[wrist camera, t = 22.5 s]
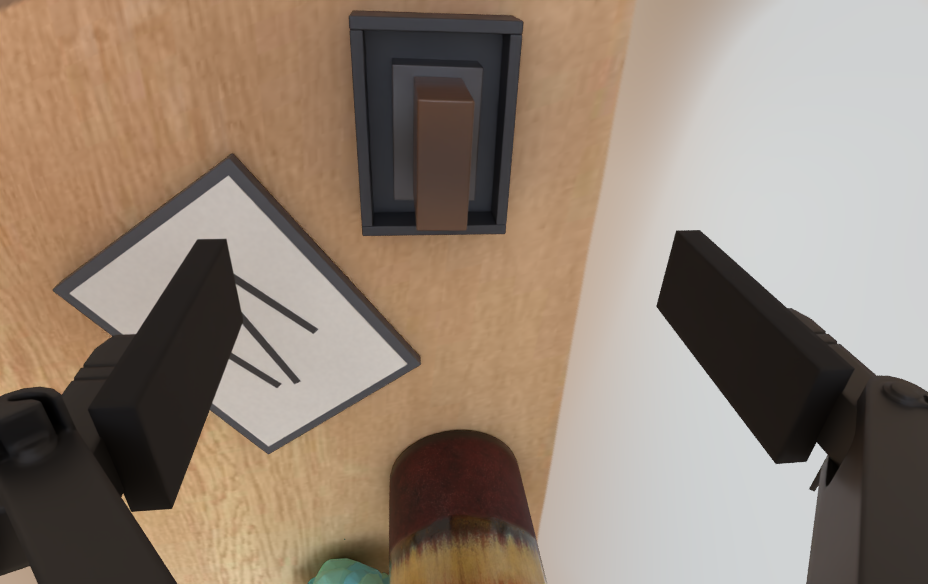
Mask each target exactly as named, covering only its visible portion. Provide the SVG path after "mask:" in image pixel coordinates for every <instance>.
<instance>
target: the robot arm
mask: <svg viewBox="0 0 928 584" xmlns="http://www.w3.org/2000/svg"><path fill="white" fill-rule="evenodd" d="M657 308H658V309H659V311H660V312H661V313H662V314H663V316H664V317H665V319H666V320H667V321H668V322H669V324H670V325H671V326H672V328H673V329H674V330H675V331H676V333H677V334H678V336H679V337H680V338H681V340H682V341H683V342H684V344H685V345H686V346H687V348H688V349H689V350H690V352H691V353H692V354H693V355H694V357H695V358H696V359H697V361H698V362H699V363H700V365H701V366H702V367H703V369H704V370H705V371H706V373H707V374H708V375H709V377H710V378H711V379H712V380H713V382H714V383H715V384H716V386H717V387H718V388H719V390H720V391H721V392H722V394H723V395H724V396H725V398H726V399H727V400H728V402H729V403H730V404H731V406H732V407H733V408H734V409H735V411H736V412H737V413H738V415H739V416H740V417H741V419H742V420H743V421H744V423H745V424H746V425H747V427H748V428H749V429H750V431H751V432H752V433H753V434H754V436H755V437H756V438H757V440H758V441H759V442H760V444H761V445H762V446H763V448H764V449H765V450H766V452H767V453H768V454H769V456H770V457H771V458H772V460H773V461H774V462H775V463H776V464H782V463H795V462H806V461H807V460H808V458H809V456H810V454H811V452H812V450H813V448H814V446H815V444H816V442H817V443H818V444H819V445H820V446H821V447H822V449H823V450H824V451H825V452H826V453H827V454H828V455H827V457H826V459H825V461H824V463H823V465H822V466H821V468H820V470H819V472H818V474H817V476H816V478H815V479H814V481H813V483H812V485H811V487H810V490H813V491H815V490H816V488H817V487H818V486H819V489H818V497H817V505H816V513H815V521H814V528H813V537H812V545H811V551H810V559H809V567H808V575H807V583H806V584H928V392H927V391H925V390H924V389H922V388H921V387H919V386H917V385H915V384H913V383H910V382H908V381H906V380H903V379H900V378H896V377H891V376H876V375H875V374H874V373H873V372H872V371H871V370H869V369H868V368H867V367H866V366H865V365H864V364H863V363H861V362H860V361H859V360H858V359H857V358H856V357H854V356H853V355H852V354H851V353H850V352H849V351H848V350H846V349H845V348H844V347H843V346H842V345H841V344H837V341H836V340H835V339H834V338H833V337H831V336H830V335H829V334H826V333H825V330H823V329H822V328H821V327H820V326H819V325H817V324H816V323H815V322H814V321H813V320H812V319H810V318H808V317H807V316H805V315H803V314H801V313H799V312H797V311H796V310H793V309H792V308H786V307H785V306H784V305H783V304H782V303H781V302H780V301H778V300H777V299H776V298H775V297H774V296H773V295H772V294H771V293H769V292H768V291H767V290H766V289H765V288H764V287H763V286H762V285H761V284H759V283H758V282H757V281H756V280H755V279H754V278H753V277H752V276H750V275H749V274H748V273H747V272H746V271H745V270H744V269H743V268H741V267H740V266H739V265H738V264H737V263H736V262H735V261H734V260H733V259H731V258H730V257H729V256H728V255H727V254H726V253H725V252H724V251H722V250H721V249H720V248H719V247H718V246H717V245H716V244H714V242H712V241H711V240H710V239H709V238H708V237H707V236H706V235H704V234H703V233H702V232H701V231H700V230H691V231H689V230H688V231H676V234H675V237H674V241H673V245H672V249H671V253H670V256H669V260H668V264H667V268H666V272H665V275H664V279H663V283H662V287H661V291H660V295H659V298H658V302H657ZM242 324H243V317H242V312H241V307H240V302H239V297H238V292H237V287H236V283H235V278H234V273H233V268H232V263H231V258H230V253H229V249H228V244H227V239H197V240H196V242H195V244H194V245H193V247H192V248H191V250H190V251H189V253H188V254H187V256H186V257H185V259H184V261H183V262H182V264H181V265H180V267H179V268H178V270H177V271H176V273H175V274H174V276H173V278H172V279H171V281H170V282H169V284H168V285H167V287H166V288H165V290H164V291H163V293H162V295H161V296H160V298H159V299H158V301H157V302H156V304H155V305H154V307H153V308H152V310H151V312H150V313H149V315H148V316H147V318H146V319H145V321H144V322H143V324H142V325H141V327H140V329H139V330H138V332H137V333H136V334H123V335H114V336H112V337H111V338H109V339H108V340H107V341H105V342H104V343H103V344H101V345H100V346H98V347H97V348H96V349H95V350H94V351H93V352H92V354H91V355H90V356H89V358H88V359H87V361H86V362H85V363H84V367H83V368H81V369H80V370H79V372H78V373H77V374H76V376H75V377H74V381H71V383H70V384H69V385H68V387H67V388H66V390H65V391H64V392H63V394H62V395H61V394H60V393H58V392H57V391H55V390H54V389H52V388H45V387H33V388H24V389H20V390H17V391H14V392H10V393H7V394H4V395H2V396H0V576H1V575H4V574H7V573H10V572H13V571H16V570H19V569H22V568H25V567H28V566H30V567H31V569H32V571H33V573H34V576H35V578H36V580H37V582H38V584H177V582H176V581H175V579H174V578H173V576H172V575H171V573H170V572H169V570H168V569H167V567H166V565H165V564H164V562H163V561H162V559H161V558H160V556H159V555H158V553H157V552H156V550H155V549H154V547H153V545H152V544H151V542H150V541H149V539H148V538H147V536H146V535H145V533H144V532H143V530H142V529H141V527H140V526H139V524H138V522H137V521H136V519H135V518H134V516H133V515H132V513H131V512H135V511H149V510H162V509H172V507H173V505H174V502H175V500H176V497H177V494H178V492H179V489H180V486H181V484H182V481H183V479H184V476H185V473H186V471H187V468H188V465H189V463H190V460H191V458H192V455H193V452H194V450H195V447H196V444H197V442H198V439H199V437H200V434H201V431H202V429H203V426H204V423H205V421H206V418H207V416H208V413H209V410H210V408H211V405H212V402H213V400H214V397H215V395H216V392H217V389H218V387H219V384H220V381H221V379H222V376H223V373H224V371H225V368H226V366H227V363H228V360H229V358H230V355H231V352H232V350H233V347H234V345H235V342H236V339H237V337H238V334H239V331H240V329H241V326H242ZM123 493H124V496H125V498H126V500H127V503H128V505H129V507H130V510H131V512H130V510H129V509H128V507H127V506H126V504H125V503H124V501H123V499H122V498H121V497H122V494H123Z"/></svg>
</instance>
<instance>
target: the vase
mask: <svg viewBox="0 0 928 584" xmlns="http://www.w3.org/2000/svg"><path fill="white" fill-rule="evenodd" d="M389 584H547V581H546V577H545V573H544V569H543V565H542V561H541V557H540V553H539V549H538V544H537V540H536V536H535V532H534V528H533V524H532V520H531V516H530V512H529V508H528V504H527V499H526V495H525V491H524V487H523V483H522V479H521V475H520V471H519V467H518V463H517V461H516V458H515V456H514V454H513V453H512V451H511V450H510V449H509V447H508V446H506V445H505V444H504V443H503V442H501V441H500V440H498V439H496V438H495V437H492V436H490V435H487V434H484V433H480V432H474V431H448V432H443V433H438V434H434V435H432V436H429V437H426V438H424V439H422V440H420V441H418V442H416V443H414V444H413V445H411V446H410V447H408V448H407V449H406V450H405V451H404V452H403V453H402V454H401V455H400V456H399V458H398V459H397V460H396V462H395V464H394V466H393V468H392V471H391V475H390V494H389Z"/></svg>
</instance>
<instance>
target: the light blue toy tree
mask: <svg viewBox="0 0 928 584" xmlns="http://www.w3.org/2000/svg"><path fill="white" fill-rule="evenodd" d="M344 540H345V539H344ZM359 547H360V546H359ZM308 584H389V575H388V574H386V573H385V572H383V573H380V572H379V570H377V569H374V568H372V567H369V566H367V565H364V564H362V563H361V562H357V561H354V560H351V559H348V558H342V559H330V560H328V561H326V562H325V563H324V564H323V565H322V567H321V569H320V570H319V572H318V574H317V575H316V577H314V578H312V579H311V580H310V581H309V582H308Z"/></svg>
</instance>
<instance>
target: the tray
mask: <svg viewBox="0 0 928 584" xmlns="http://www.w3.org/2000/svg"><path fill="white" fill-rule="evenodd" d="M349 28H350V45H351V61H352V76H353V92H354V108H355V124H356V140H357V156H358V172H359V187H360V203H361V219H362V235H363V236H392V235H467V234H505V233H506V221H507V209H508V197H509V186H510V174H511V162H512V150H513V139H514V127H515V115H516V103H517V91H518V80H519V68H520V56H521V44H522V35H521V34H522V32H523V21H522V20H520V19H518V18H516V17H514V16H507V15H476V14H445V13H415V12H384V11H352V12H351V14H350V15H349ZM392 58H411V59H437V60H463V61H478V62H479V63H480V64H481V66H482V67H483V69H484V70H483V85H482V100H481V115H480V130H479V145H478V160H477V175H476V190H475V200H474V201H469V204H468V220H467V230H466V231H418V230H417V229H416V220H415V208H414V200H394V190H393V120H392Z"/></svg>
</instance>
